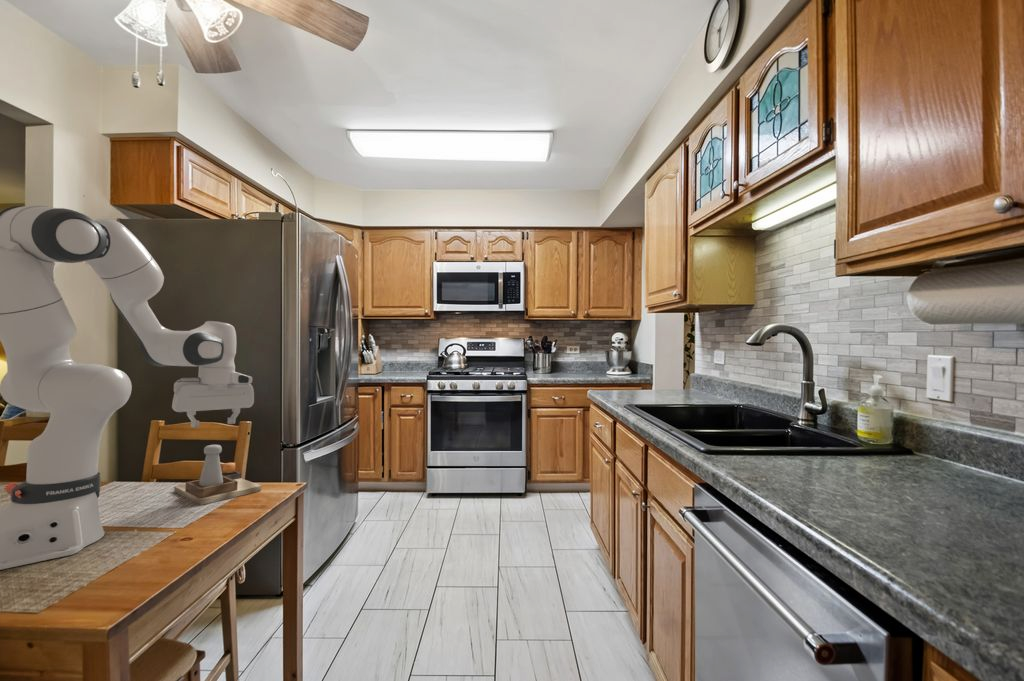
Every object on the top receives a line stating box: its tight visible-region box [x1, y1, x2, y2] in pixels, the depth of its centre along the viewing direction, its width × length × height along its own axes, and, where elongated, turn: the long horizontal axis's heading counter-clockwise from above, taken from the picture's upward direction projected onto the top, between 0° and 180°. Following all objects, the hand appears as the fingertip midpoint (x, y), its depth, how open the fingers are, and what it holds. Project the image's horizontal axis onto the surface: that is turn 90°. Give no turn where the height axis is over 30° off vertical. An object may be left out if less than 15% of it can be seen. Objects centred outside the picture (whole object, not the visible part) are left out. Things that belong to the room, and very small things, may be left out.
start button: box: [222, 462, 236, 473], centre depth 142 cm, size 3×3×2 cm
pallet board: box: [173, 470, 262, 506], centre depth 134 cm, size 16×18×4 cm
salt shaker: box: [199, 444, 223, 488], centre depth 130 cm, size 6×6×13 cm
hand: (213, 425), depth 130 cm, fingers open, 8 cm apart
